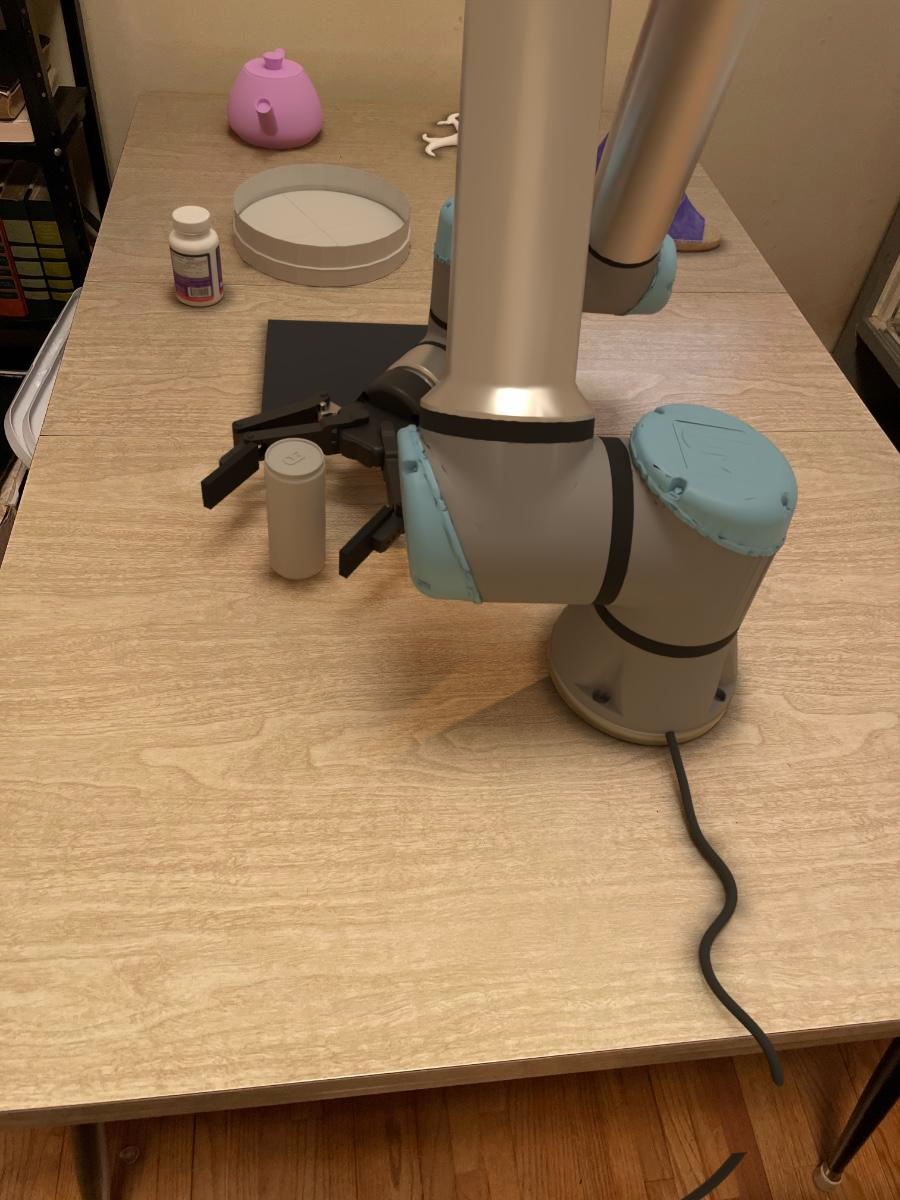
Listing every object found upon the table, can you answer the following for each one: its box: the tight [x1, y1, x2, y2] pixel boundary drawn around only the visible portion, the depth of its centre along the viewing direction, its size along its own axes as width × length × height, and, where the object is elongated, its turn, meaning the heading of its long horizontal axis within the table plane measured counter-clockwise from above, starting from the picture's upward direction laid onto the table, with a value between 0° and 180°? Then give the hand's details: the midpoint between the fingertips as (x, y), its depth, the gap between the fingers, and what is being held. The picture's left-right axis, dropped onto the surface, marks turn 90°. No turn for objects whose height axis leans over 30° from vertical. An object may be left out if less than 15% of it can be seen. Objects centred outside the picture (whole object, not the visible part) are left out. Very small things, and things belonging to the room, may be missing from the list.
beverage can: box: [263, 438, 327, 581], centre depth 79 cm, size 5×5×12 cm
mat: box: [260, 318, 428, 442], centre depth 102 cm, size 20×20×1 cm
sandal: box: [595, 131, 723, 253], centre depth 126 cm, size 8×20×15 cm, turn 78°
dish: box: [232, 163, 412, 288], centre depth 120 cm, size 22×22×5 cm
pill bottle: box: [168, 205, 224, 308], centre depth 107 cm, size 5×5×10 cm
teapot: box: [226, 47, 324, 150], centre depth 138 cm, size 14×20×11 cm
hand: (272, 529), depth 77 cm, fingers open, 13 cm apart
